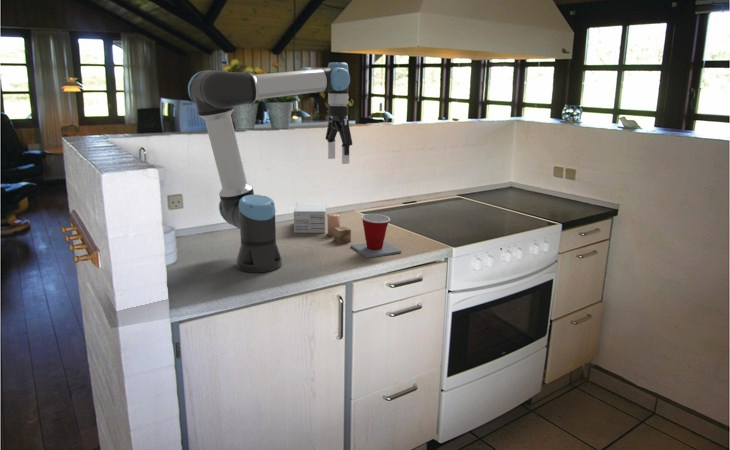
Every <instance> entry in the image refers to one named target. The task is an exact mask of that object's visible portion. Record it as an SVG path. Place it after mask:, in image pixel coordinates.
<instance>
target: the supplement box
mask: <svg viewBox="0 0 730 450" xmlns="http://www.w3.org/2000/svg"><path fill="white" fill-rule="evenodd" d="M326 228H327V202H296V203H295V208H294V211H293V232H294V233H295V234H297V233H298V234H301V233H302V234H307V233H309V234H312V233H313V234H315V233H316V234H319V233H320V234H325V233H326Z"/></svg>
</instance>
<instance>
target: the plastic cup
mask: <svg viewBox="0 0 730 450" xmlns="http://www.w3.org/2000/svg"><path fill="white" fill-rule="evenodd" d="M361 220H362V224H363V232H364V239H365V243H366V245H367V248H368V249H371V250H379V249H382V247H383V242H384V241H385V238H386V233H387V228H388V224H389V222H391V218H390V216H387V215H384V214H378V213H364V214H363V215H361Z"/></svg>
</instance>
